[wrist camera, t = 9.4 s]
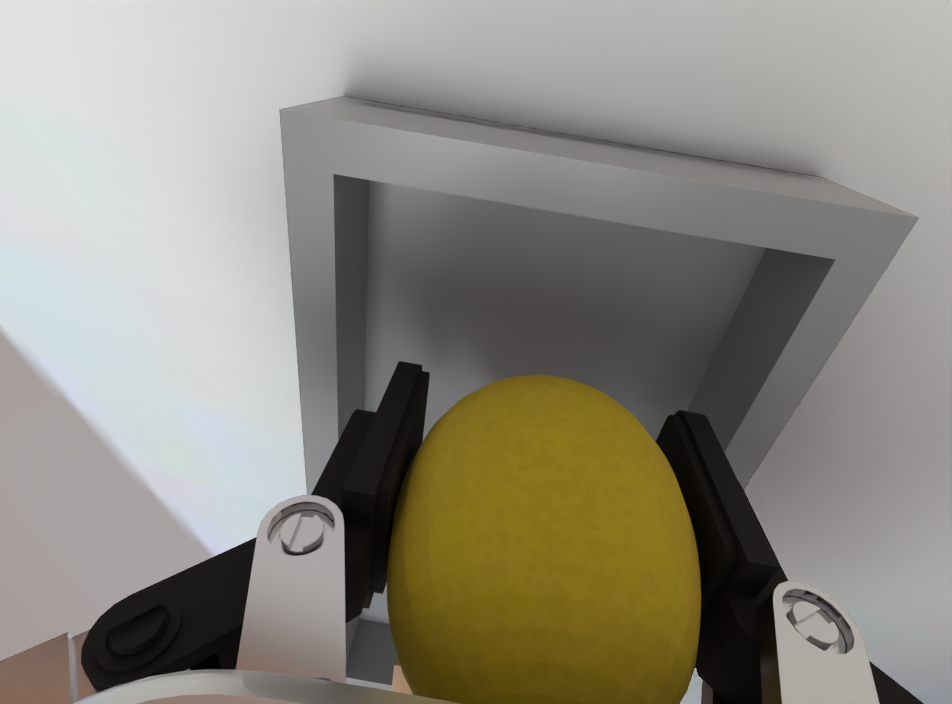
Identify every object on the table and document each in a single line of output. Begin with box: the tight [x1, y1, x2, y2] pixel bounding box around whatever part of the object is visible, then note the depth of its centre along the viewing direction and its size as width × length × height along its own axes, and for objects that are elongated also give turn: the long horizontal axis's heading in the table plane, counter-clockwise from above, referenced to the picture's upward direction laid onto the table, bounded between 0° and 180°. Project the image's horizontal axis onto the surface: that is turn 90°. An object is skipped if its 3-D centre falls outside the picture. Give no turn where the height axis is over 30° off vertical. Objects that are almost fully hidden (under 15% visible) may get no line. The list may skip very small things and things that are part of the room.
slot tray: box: [280, 96, 918, 691], centre depth 16 cm, size 12×23×4 cm, turn 172°
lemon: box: [387, 374, 701, 704], centre depth 9 cm, size 6×6×8 cm
